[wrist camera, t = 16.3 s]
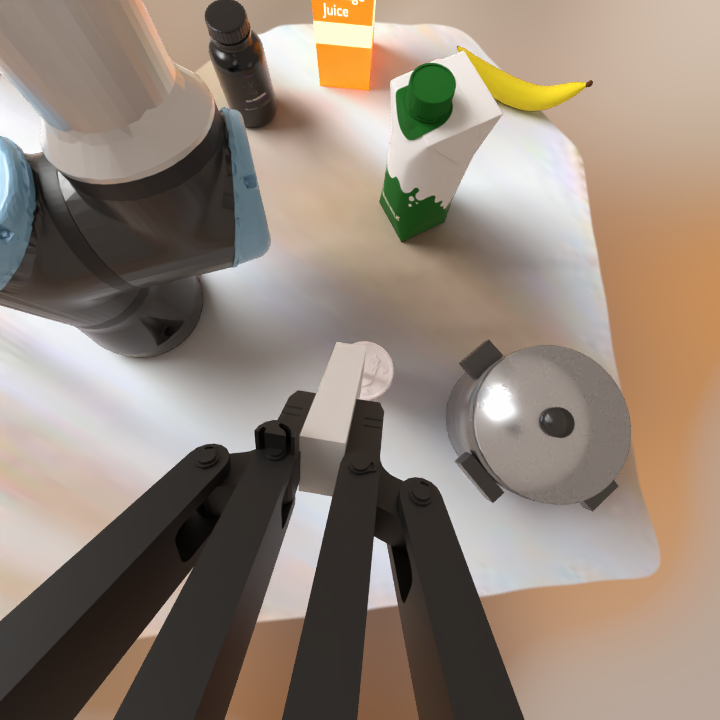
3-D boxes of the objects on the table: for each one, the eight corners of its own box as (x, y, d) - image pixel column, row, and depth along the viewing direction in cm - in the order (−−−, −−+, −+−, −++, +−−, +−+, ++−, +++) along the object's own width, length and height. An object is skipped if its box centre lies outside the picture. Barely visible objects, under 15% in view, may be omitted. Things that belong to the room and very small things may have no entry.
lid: (549, 317, 36) (560, 312, 34) (653, 431, 34) (672, 433, 32) (440, 411, 34) (446, 411, 32) (546, 536, 33) (558, 544, 31)
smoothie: (327, 376, 44) (316, 363, 30) (362, 345, 45) (367, 317, 31) (360, 412, 43) (364, 415, 29) (395, 379, 44) (415, 366, 30)
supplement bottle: (265, 136, 49) (237, 49, 37) (224, 119, 49) (183, 26, 37) (285, 100, 50) (264, 3, 38) (245, 83, 50) (211, -19, 38)
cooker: (496, 324, 45) (532, 304, 36) (601, 441, 43) (666, 450, 34) (400, 406, 43) (412, 405, 35) (505, 532, 42) (546, 567, 33)
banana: (450, 73, 51) (464, 26, 45) (566, 114, 50) (596, 73, 44) (444, 88, 51) (457, 43, 44) (560, 130, 50) (590, 90, 44)
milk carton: (370, 199, 48) (383, 52, 28) (425, 175, 48) (475, 14, 29) (398, 250, 47) (432, 135, 27) (453, 224, 47) (526, 94, 28)
